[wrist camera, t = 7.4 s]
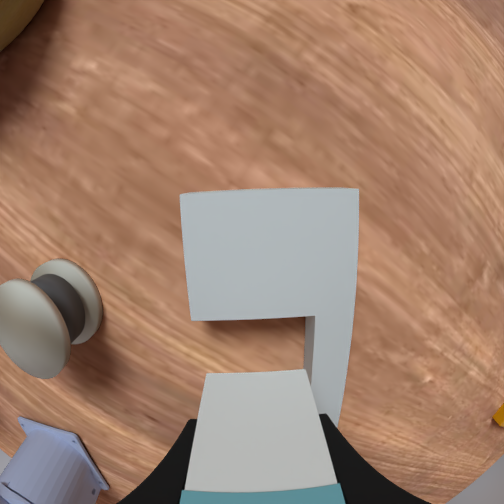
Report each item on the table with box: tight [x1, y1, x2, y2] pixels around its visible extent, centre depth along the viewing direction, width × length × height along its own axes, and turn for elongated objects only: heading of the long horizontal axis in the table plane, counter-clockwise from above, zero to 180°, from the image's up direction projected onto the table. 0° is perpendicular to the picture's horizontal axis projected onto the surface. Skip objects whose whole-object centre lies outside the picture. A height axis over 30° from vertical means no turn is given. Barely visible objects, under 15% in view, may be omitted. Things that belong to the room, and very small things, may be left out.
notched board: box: [180, 188, 359, 427], centre depth 16 cm, size 18×8×2 cm, turn 2°
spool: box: [0, 259, 103, 379], centre depth 14 cm, size 6×6×5 cm
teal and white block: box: [180, 369, 345, 504], centre depth 8 cm, size 4×4×7 cm
